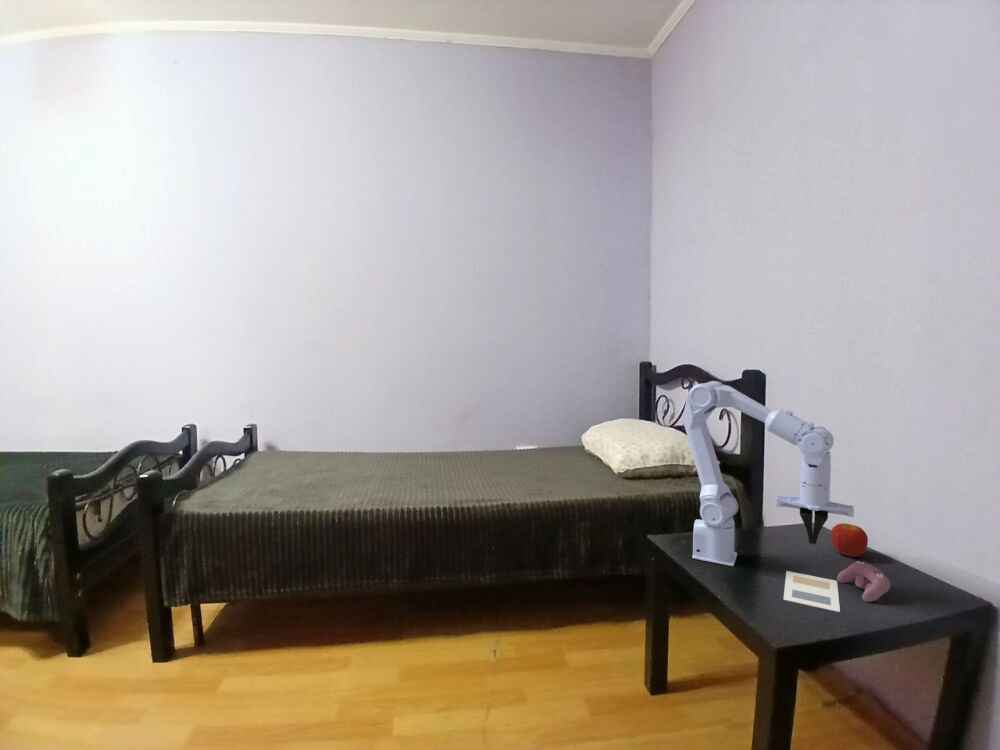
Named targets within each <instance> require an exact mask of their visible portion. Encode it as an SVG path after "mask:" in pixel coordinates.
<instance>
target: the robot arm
mask: <svg viewBox="0 0 1000 750" xmlns="http://www.w3.org/2000/svg"><path fill="white" fill-rule="evenodd" d="M685 399H686V401H685V406H684V410H683V413H682V423H683V426H684V430H685V433H686V436H687V439H688V443H689V444H688V445H689V448H690V451H691V454H692V457H693V460H694V465H695V467H696V472H697V475H698V479H699V482H700V486H701V488H700V494H699V501H700V507H699V514H700V517H701V519H695V520H694V523H693V533H692V534H693V535H692V536H693V537H692V538H693V539H692V559H694V560H699V561H704V562H710V563H715V564H720V565H724V566H729V567H734V566H735V562H736V560H737V556H738V553H737V552H735V527H736V526H735V525H736V523H735V520H734V516H735V515H736V514H737V512H738V511H739V503H738V501H737V499H736V497H734V495H733V494H732V493H731V490H730V489H731V488H730V487H729V486H728V485H727V484H726V483H725V482H724V479H723V475H722V472H721V469H720V465H719V461H718V458H717V455H716V451H715V448H714V445H713V442H712V437H711V435H710V431H709V430H710V429H709V428H708V424H707V421H708V419H709V417H710V416H711V414H712V413H713V412H714V410H716V409H717V408H733V409H734V410H738V411H739V412H742V413H743V414H745V415H747V416H749V417H752V418H754V419H756V420H758V421H760V422H762V423H764V424H765V426H766V429H767V431H768V432H769V433H771V434H773V435H775V436H777V437H779V438H780V439H783V440H785V441H786V442H788V443H790V444H792V445H794V446H797V447H798V450H799V451H800V455H801V456H800V467H799V468H800V469H799V472H800V473H799V496H796V497H795V496H780V495H777V496H776V507H778V508H782V507H785V508H792V509H797V510H799V516H800V518H801V520H802V522H803V525H804V527H805V530H806V532H807V537H808V543H809V544H812V545H817V542H818V537H819V535H820V532H821V530H822V528H823V526H824V525H825V523H826V522H827V521H828V518H829V514H834V515H841V516H847V517H849V518H854V516H855V515H854V514H855V513H854V511H855V509H854V506H853V505H848V504H843V503H838V502H834V501H830V495H831V494H830V492H831V470H832V467H831V466H832V463H831V457H832V456H831V451H830V450H832V448H833V446H834V441H835V440H834V436H833V434H832V433H831V432H830V431H829V430H828V429H826V428H825V427H824V426H821V425H819V426H818V425H816V426H815V423H814V422H812V421H809V422H807V421H806V420H803V419H801V418H799V417H797V416H795V415H793V414H794V412H793V411H792V410H790V409H785V410H784V409H776V410H772V409H770V408H769V407H767V406H765V405H763V404H762V403H759V402H757V400H754V399H752V398H750V397H749V396H747V395H746V394H744V393H742V392H740V391H738V390H737V389H736V388H733V387H732V386H730V385H728V384H727V385H726V384H723V383H722V382H721V381H719V380H718V381H717V380H711V381H708V382H704V383H697V384H695V385H693V386H692V387H691V388H690V390H689V391H688V392H687V393H686V395H685ZM813 512H814V514H813ZM813 515H814V519H813ZM813 520H814V521H813Z"/></svg>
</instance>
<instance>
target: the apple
mask: <svg viewBox="0 0 1000 750" xmlns="http://www.w3.org/2000/svg"><path fill="white" fill-rule="evenodd" d="M830 539H831V542H832V545H833V546H834V549H835V551H837V552H838V553H840V554H841V555H844V556H847V557H852V558H858V557H861V556H862V555H863V554H864V553H865V551H866V550H867V548H868V543H869V541H868V540H869V537H868V534H867V533H866V531H864V529H863V528H862V527H861V526H858V525H853V524H850V523H843V522H842V523H838V524H836V525H834V526H833V527H832V528H831V530H830Z"/></svg>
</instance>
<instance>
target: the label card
mask: <svg viewBox="0 0 1000 750" xmlns="http://www.w3.org/2000/svg"><path fill="white" fill-rule="evenodd" d="M783 591H784V592H783V600H784V601H788V602H792V603H796V604H801V605H805V606H811V607H815V608H819V609H824V610H827V611H828V610H829V611H833V612H837V613H841V608H840V607H841V605H840V598H839V587H838V580H836V579H830V578H824V577H819V576H815V575H810V574H805V573H798V572H795V571H789V570H786V573H785V581H784V589H783Z"/></svg>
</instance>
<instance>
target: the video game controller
mask: <svg viewBox="0 0 1000 750" xmlns="http://www.w3.org/2000/svg"><path fill="white" fill-rule="evenodd" d="M836 579H837V580H836V581H837V582H838V583H841V584H844V583H849V582H851V581H853V580H855V582H854V584H855V586H856V587H858V588H859V589H863V590H864V592H863V593H862V595H861V598H862V600H863V601H864V603H865V602H866V603H869V602H874V601H877V600H878V599H880V598H881V597H882V596H883V595H884V594H886V593H888V591H890V589H891V581H890V580H889V579H888V577H886V576H885V574H884V572H882V571H881V569H879V568H878V567H876V566H874V565H872V564H870V563H866V562H864V561H863V562H862V561H859V560H858V561H857V560H856V562H853V563H851V564H850V565H849V566H848V567H846V568H844V569H843V570H842V571H840V572H838V574H837V578H836Z"/></svg>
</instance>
